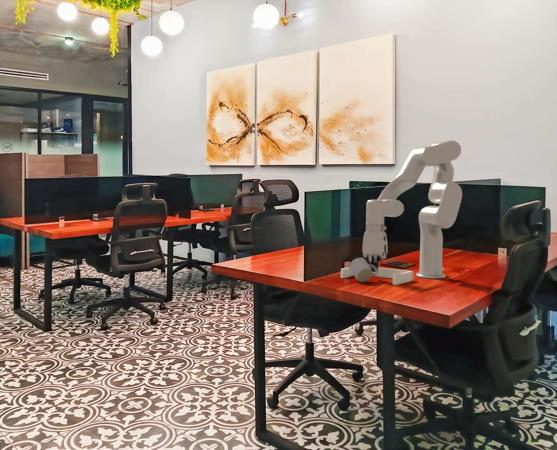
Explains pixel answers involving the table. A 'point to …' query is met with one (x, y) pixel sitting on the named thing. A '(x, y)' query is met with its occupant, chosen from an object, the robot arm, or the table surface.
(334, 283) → the table surface
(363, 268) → the ceramic mug
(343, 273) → the white u-shaped bracket
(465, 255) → the table surface
